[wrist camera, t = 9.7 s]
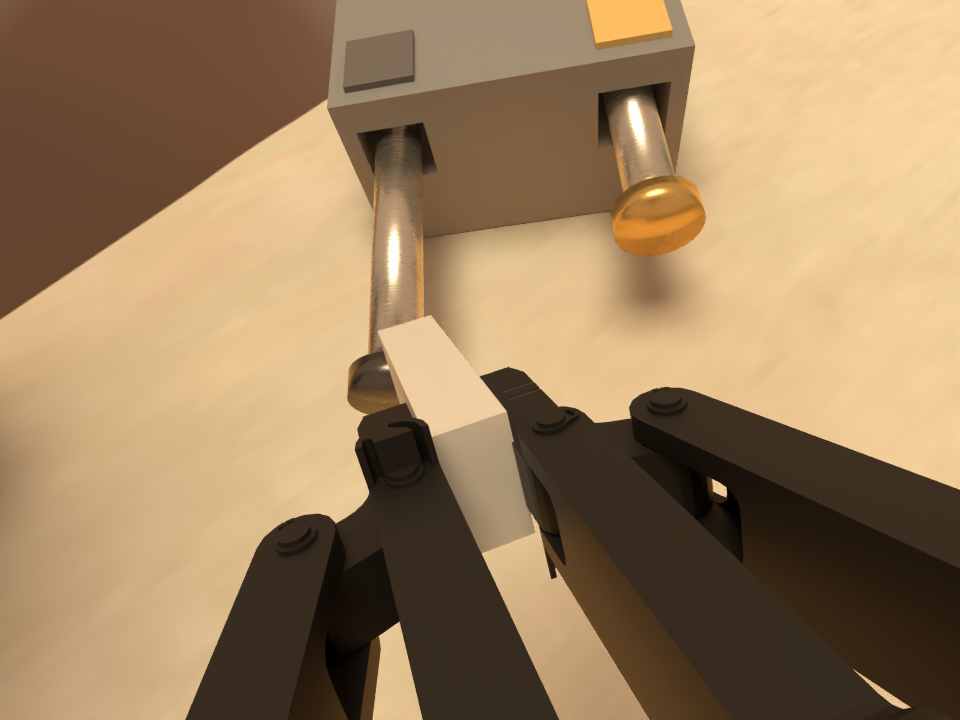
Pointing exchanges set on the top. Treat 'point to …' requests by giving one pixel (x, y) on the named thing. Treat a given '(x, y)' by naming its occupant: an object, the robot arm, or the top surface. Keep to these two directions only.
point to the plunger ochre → (648, 179)
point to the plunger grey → (392, 261)
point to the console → (505, 98)
